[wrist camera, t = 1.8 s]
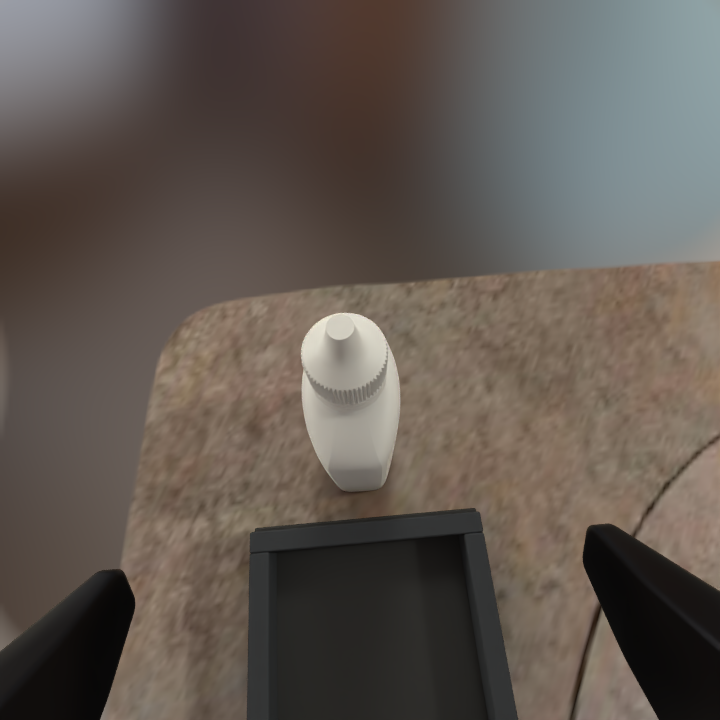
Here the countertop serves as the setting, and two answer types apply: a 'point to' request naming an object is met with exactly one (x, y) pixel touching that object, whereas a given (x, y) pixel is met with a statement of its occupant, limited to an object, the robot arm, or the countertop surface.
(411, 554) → the dock pad
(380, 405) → the eye dropper bottle
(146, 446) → the countertop surface
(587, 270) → the countertop surface
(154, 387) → the countertop surface
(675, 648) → the robot arm
